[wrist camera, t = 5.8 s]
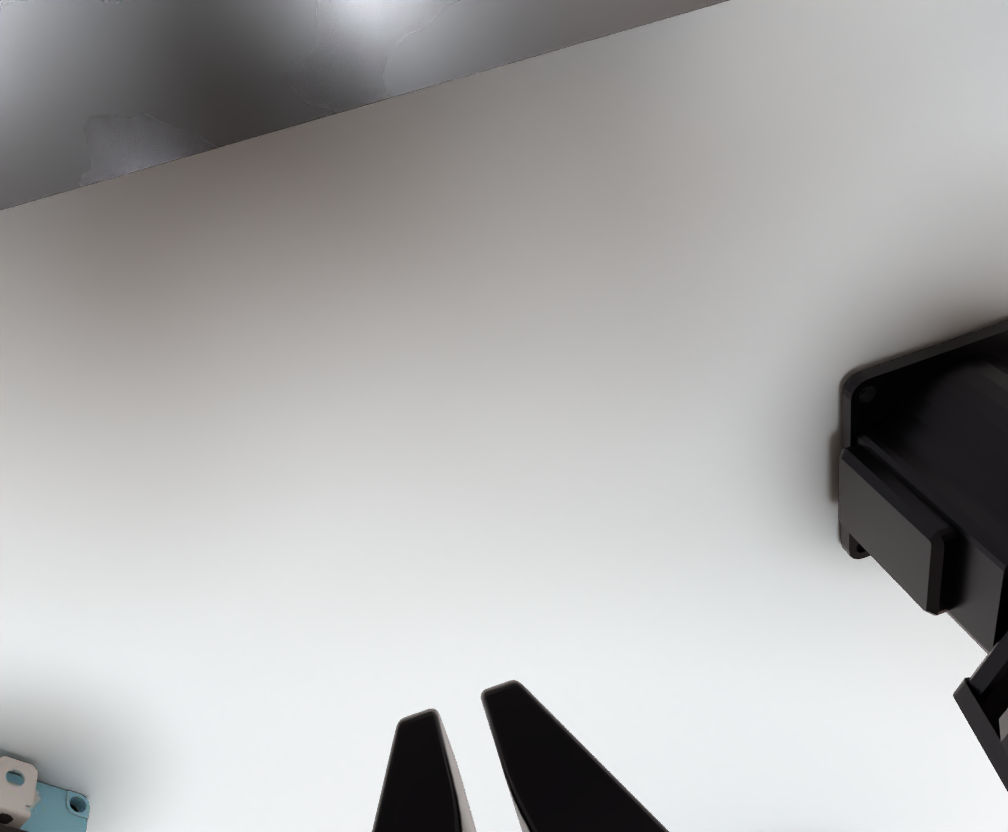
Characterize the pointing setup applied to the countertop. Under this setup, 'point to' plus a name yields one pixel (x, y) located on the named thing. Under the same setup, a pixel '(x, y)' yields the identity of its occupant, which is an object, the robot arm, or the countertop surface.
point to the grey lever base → (243, 70)
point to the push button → (37, 802)
